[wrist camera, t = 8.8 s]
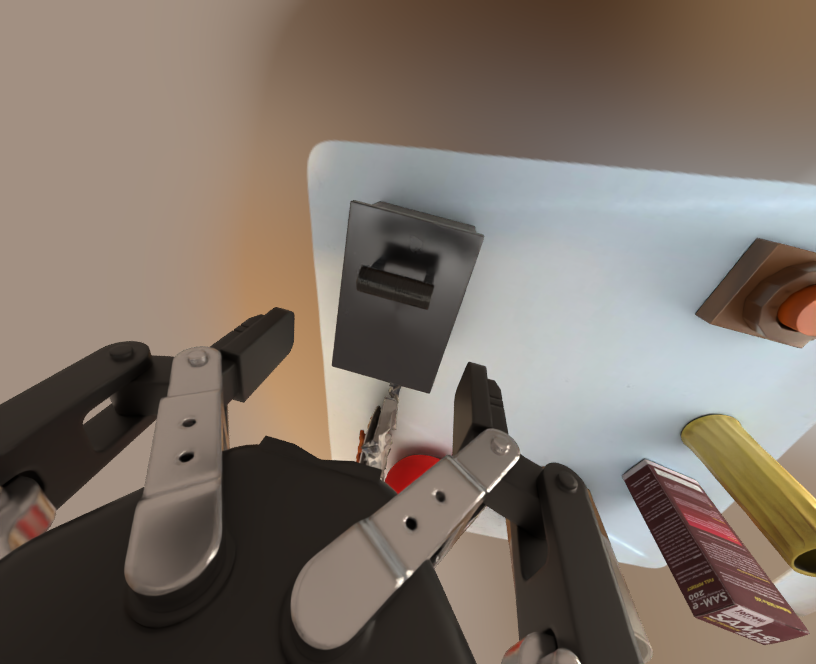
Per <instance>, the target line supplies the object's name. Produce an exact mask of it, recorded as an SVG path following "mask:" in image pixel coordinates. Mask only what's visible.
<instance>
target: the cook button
mask: <svg viewBox="0 0 816 664" xmlns="http://www.w3.org/2000/svg"><path fill="white" fill-rule="evenodd" d="M777 316H778V319H779V321H780V322H781V323H782V324H784V325H786V326H788V327H790V328H792V329H794V330H796V331H798V332H800V333H802V334H805V335H808V336H816V285H812V286H808V287H805V288H802V289H801V290H799V291H797V292H795V293H793V294H791V295H790V296H789V297H788V298H787V299H786V300H785V301H784V302H783V303H782V304H781V305H780V307H779V309H778V313H777Z"/></svg>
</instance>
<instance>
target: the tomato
mask: <svg viewBox="0 0 816 664" xmlns="http://www.w3.org/2000/svg"><path fill="white" fill-rule="evenodd" d="M440 460H441V459H438V458H435V457H432V456H428V455H411V456H408V457H405V458H403V459H401V460H400V461H398V462H397V463H396V464H395V465H394V466H393V467H392V468H391V469H390V471H389V472H388V474H387V477H386V479H385V483H387V484H388V485H389V486H390V487H392V488H393V489H394V490H395V491H396V492H397V494H399V493H400V492H401V491H402V490H404V489H405V488H406V487H407V486H409V485H410V484H411V483H412V482H414V481H415V480H416V479H417V478H419V477H420V476H421V475H422V474H423V473H425V472H426V471H427V470H428V469H430V468H431V467H432V466H433V465H435V464H436V463H437V462H438V461H440Z"/></svg>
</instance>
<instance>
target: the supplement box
mask: <svg viewBox="0 0 816 664" xmlns="http://www.w3.org/2000/svg"><path fill="white" fill-rule="evenodd" d="M622 478H623V480H624V481H625V483H626V485H627V487H628V489H629V491H630V493H631V495H632V497H633V499H634V501H635V503H636V505H637V507H638V508H639V510H640V512H641V514H642V516H643V518H644V520H645V522H646V524H647V526H648V528H649V530H650V532H651V534H652V536H653V538H654V540H655V541H656V543H657V545H658V547H659V549H660V551H661V553H662V555H663V557H664V559H665V561H666V563H667V565H668V566H669V568H670V570H671V572H672V574H673V576H674V578H675V580H676V582H677V584H678V586H679V588H680V590H681V592H682V594H683V595H684V598H685V600H686V601H687V603H688V605H689V607H690V609H691V611H692V613H693V615H694V617H695V618H698V619H700V620H703V621H705V622H708V623H711V624H713V625H716V626H718V627H721V628H723V629H725V630H728V631H731V632H733V633H736V634H738V635H741V636H743V637H746V638H748V639H751V640H754V641H756V642H758V643H761V644H763V645H766V644H773V643H778V642H783V641H787V640H790V639H794V638H798V637H801V636H804V635H808V634H810V633H809V631H808V630H807V628H806V627H805V625H804V624H803V623H802V622H801V620H800V619H799V618H798V616H797V615H796V613H795V612H794V611H793V609H792V608H791V607H790V605H789V604H788V603H787V601H786V600H785V599H784V597H783V596H782V595H781V593H780V592H779V591H778V589H777V588H776V587H775V585H774V584H773V583H772V581H771V580H770V579H769V577H768V576H767V575H766V573H765V572H764V571H763V569H762V568H761V567H760V565H759V564H758V563H757V561H756V560H755V559H754V557H753V556H752V555H751V553H750V552H749V551H748V549H747V548H746V547H745V546H744V544H743V543H742V541H741V540H740V539H739V537H738V536H737V535H736V533H735V532H734V531H733V529H732V528H731V527H730V525H729V524H728V522H727V521H726V520H725V518H724V517H723V516H722V514H721V513H720V512H719V510H718V509H717V508H716V506H715V505H714V504H713V502H712V501H711V500H710V498H709V497H708V496H707V494H706V493H705V492H704V490H703V489H702V488H701V486H700V485H699V484H698V482H697V481H696V480H694V479H691V478H689V477H686V476H684V475H682V474H679V473H677V472H675V471H672V470H670V469H668V468H665V467H663V466H661V465H658V464H656V463H654V462H651V461H649V460H646V459H645V460H643V461H642V462H640V463H639V464H637V465H636V466H634V467H633V468H632V469H630V470H629V471H628V472H626V473H625V474H624V475H622Z"/></svg>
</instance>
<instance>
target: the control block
mask: <svg viewBox="0 0 816 664" xmlns="http://www.w3.org/2000/svg"><path fill="white" fill-rule="evenodd" d="M812 285H816V253H815V252H811V251H808V250H804V249H800V248H796V247H792V246H788V245H785V244H781V243H777V242H772V241H768V240H764V239H760V238H757V239H756V240H755V242H754V243H753V244H752V245H751V246H750V248H749V249H748V250H747V251H746V253H745V254H744V255H743V256H742V257H741V259H740V260H739V261H738V262H737V264H736V265H735V266H734V267H733V268H732V270H731V271H730V272H729V273H728V275H727V276H726V277H725V278H724V279H723V281H722V282H721V283H720V284H719V286H718V287H717V288H716V289H715V291H714V292H713V293H712V294H711V295H710V297H709V298H708V299H707V300H706V302H705V303H704V304H703V305H702V306H701V308H700V309H699V310H698V311H697V313H696V314H695V315H697V316H698V317H700V318H701V319H703V320H704V321H706V322H708V323H709V324H712V325H716V326H720V327H723V328H727V329H731V330H734V331H738V332H742V333H745V334H749V335H753V336H757V337H760V338H764V339H768V340H771V341H775V342H779V343H783V344H786V345H790V346H794V347H797V348H803V347H804V346H805V345H806V344H807V343H808V342H809V341H811V340H815V339H816V336H808V335H805V334H802V333H800V332H798V331H796V330H794V329H792V328H790V327H788V326H786V325H784V324H782V323H781V322H780V321H779V319H778V316H777V313H778V309H779V307H780V305H781V304H782V303H783V302H784V301H785V300H786V299H787V298H788V297H789V296H790V295H791V294H793V293H795V292H797V291H799V290H801V289H802V288H805V287H808V286H812Z"/></svg>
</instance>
